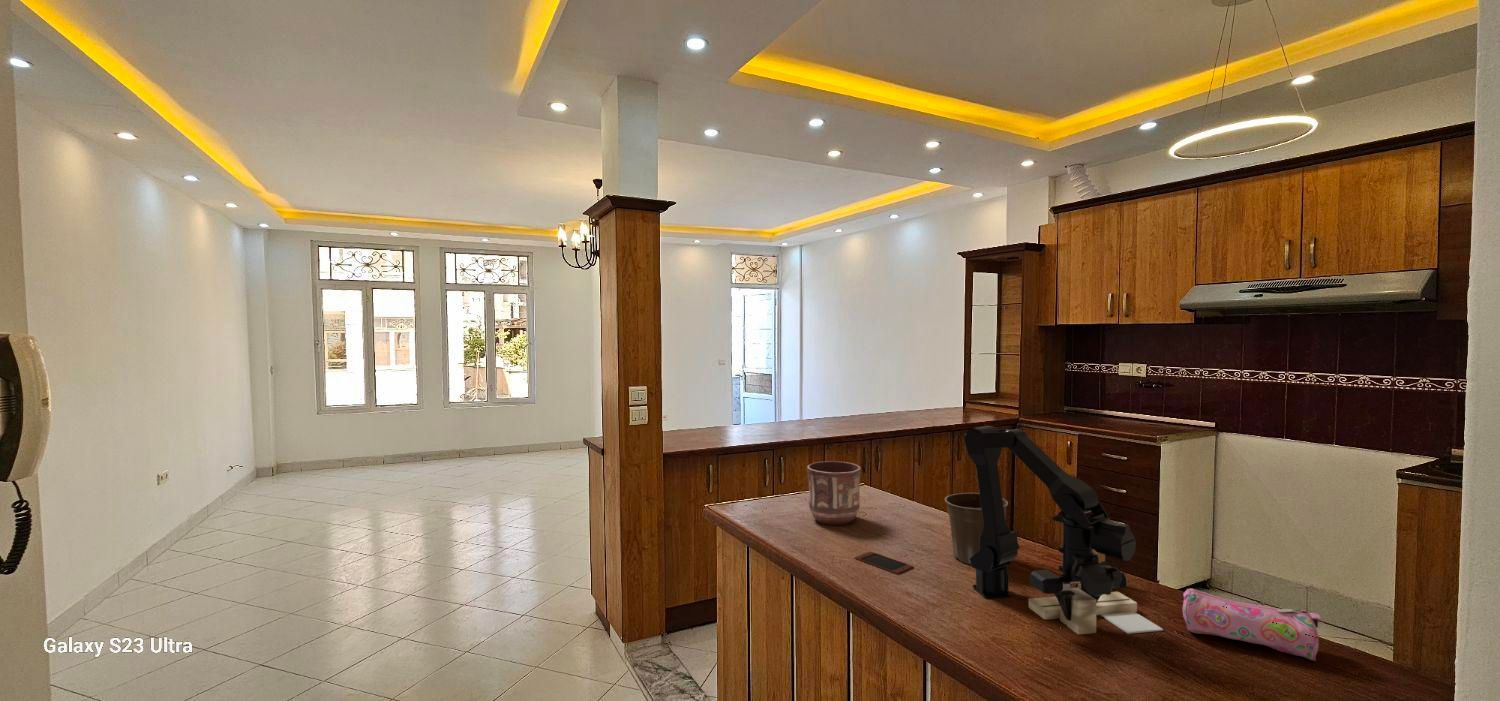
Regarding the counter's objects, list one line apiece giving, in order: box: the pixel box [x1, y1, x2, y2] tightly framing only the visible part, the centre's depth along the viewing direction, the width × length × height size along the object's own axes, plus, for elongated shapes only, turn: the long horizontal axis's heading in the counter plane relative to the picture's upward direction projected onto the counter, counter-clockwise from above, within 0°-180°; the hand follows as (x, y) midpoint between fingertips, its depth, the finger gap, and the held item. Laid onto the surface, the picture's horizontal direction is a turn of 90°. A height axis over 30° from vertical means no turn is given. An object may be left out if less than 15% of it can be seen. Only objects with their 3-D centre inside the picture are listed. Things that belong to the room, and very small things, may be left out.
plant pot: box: [944, 492, 1009, 566], centre depth 171 cm, size 16×16×16 cm
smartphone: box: [854, 551, 915, 576], centre depth 169 cm, size 7×1×15 cm
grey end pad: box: [1100, 612, 1164, 635], centre depth 133 cm, size 8×8×1 cm
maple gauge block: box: [1059, 587, 1097, 635], centre depth 132 cm, size 4×6×7 cm, turn 7°
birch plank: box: [1028, 591, 1138, 620], centre depth 140 cm, size 22×6×2 cm, turn 98°
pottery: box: [806, 460, 862, 526], centre depth 207 cm, size 18×18×18 cm
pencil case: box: [1182, 588, 1322, 662], centre depth 124 cm, size 21×9×9 cm, turn 54°
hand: (1077, 619), depth 132 cm, fingers closed on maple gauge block, 4 cm apart
